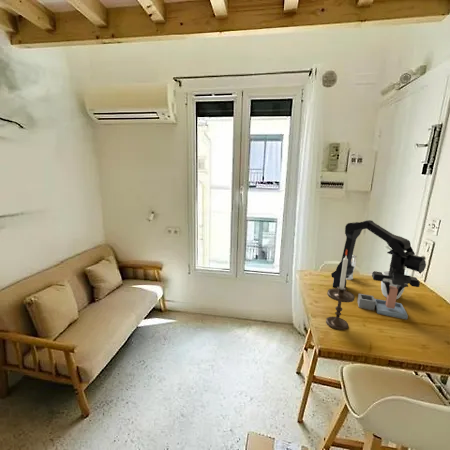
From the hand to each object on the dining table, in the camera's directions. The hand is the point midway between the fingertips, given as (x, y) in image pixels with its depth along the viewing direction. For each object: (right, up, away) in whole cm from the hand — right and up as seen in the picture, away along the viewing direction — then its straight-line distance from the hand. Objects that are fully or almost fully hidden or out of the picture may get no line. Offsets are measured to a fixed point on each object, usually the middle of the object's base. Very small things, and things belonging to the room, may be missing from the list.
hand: (391, 295), depth 128 cm
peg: (0, -6, +1) cm, 6 cm away
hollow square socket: (-10, -7, +5) cm, 14 cm away
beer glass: (-2, 0, +41) cm, 41 cm away
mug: (+11, -6, +18) cm, 21 cm away
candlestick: (-31, -10, -11) cm, 35 cm away
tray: (0, -8, +2) cm, 8 cm away
